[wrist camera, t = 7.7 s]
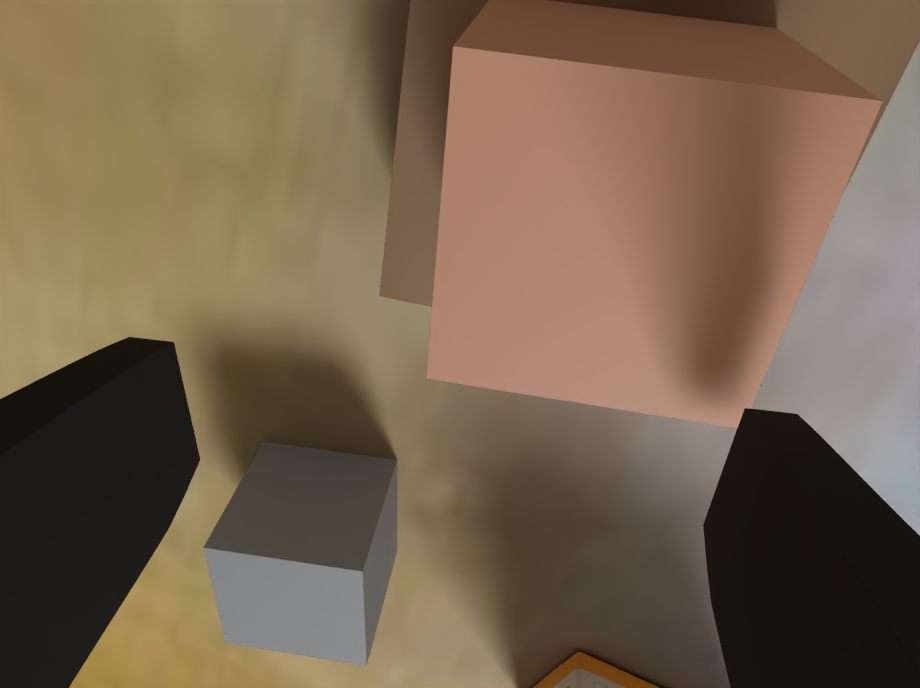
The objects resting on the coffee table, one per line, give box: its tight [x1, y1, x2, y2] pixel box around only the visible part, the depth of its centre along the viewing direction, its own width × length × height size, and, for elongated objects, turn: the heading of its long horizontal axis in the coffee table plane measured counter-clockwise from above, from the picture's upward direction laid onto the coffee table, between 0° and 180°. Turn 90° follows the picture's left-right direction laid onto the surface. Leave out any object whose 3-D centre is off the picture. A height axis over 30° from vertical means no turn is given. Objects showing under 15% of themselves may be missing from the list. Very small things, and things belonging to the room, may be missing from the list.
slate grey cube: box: [204, 441, 397, 666], centre depth 22 cm, size 4×4×4 cm
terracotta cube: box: [426, 0, 883, 428], centre depth 10 cm, size 4×4×4 cm
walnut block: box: [380, 0, 920, 307], centre depth 14 cm, size 8×8×4 cm
